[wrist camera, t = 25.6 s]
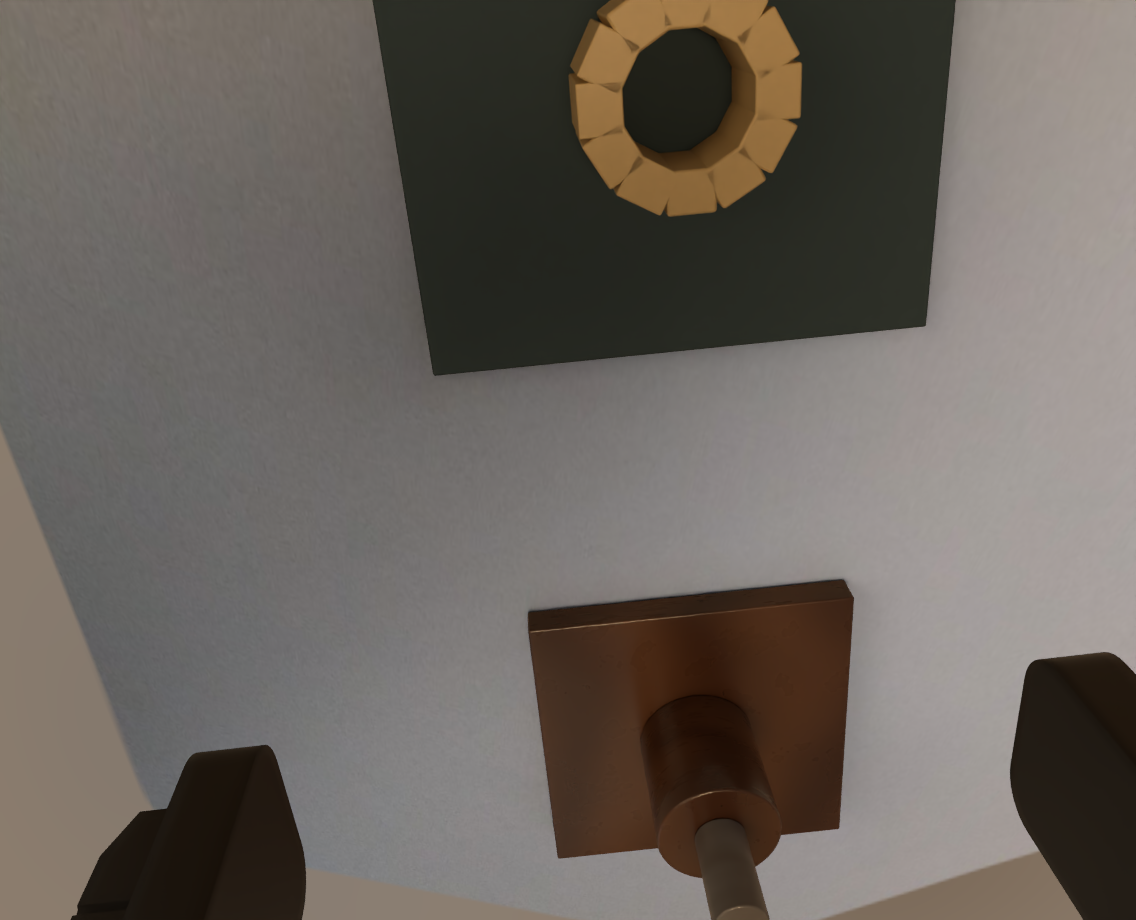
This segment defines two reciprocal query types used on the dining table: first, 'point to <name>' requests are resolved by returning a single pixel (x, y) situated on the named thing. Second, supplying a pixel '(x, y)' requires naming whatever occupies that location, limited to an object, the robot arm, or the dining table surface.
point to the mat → (659, 242)
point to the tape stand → (696, 728)
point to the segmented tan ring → (747, 131)
